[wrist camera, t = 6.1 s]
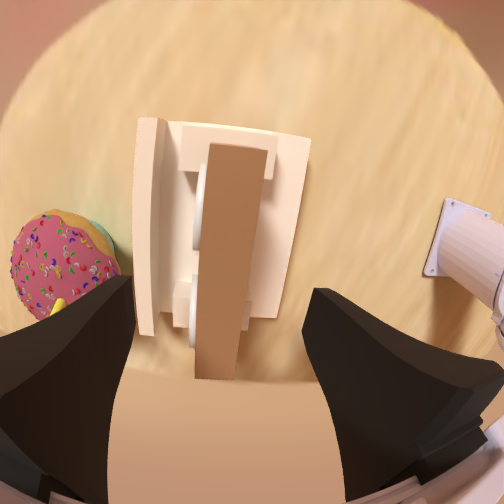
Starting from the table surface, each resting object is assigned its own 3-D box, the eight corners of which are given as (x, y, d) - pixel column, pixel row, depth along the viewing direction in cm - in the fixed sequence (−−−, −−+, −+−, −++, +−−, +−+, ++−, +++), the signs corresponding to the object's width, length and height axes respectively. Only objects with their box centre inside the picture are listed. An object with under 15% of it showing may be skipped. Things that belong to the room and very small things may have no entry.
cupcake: (146, 210, 18) (72, 311, 7) (130, 308, 21) (91, 432, 10) (47, 186, 16) (-67, 246, 5) (45, 281, 19) (-27, 375, 8)
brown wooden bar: (249, 146, 14) (268, 150, 9) (227, 322, 18) (233, 379, 13) (205, 141, 13) (201, 142, 9) (192, 320, 17) (188, 378, 13)
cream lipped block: (301, 138, 18) (329, 139, 13) (271, 303, 22) (284, 341, 18) (153, 122, 16) (132, 117, 11) (147, 295, 21) (135, 334, 16)
